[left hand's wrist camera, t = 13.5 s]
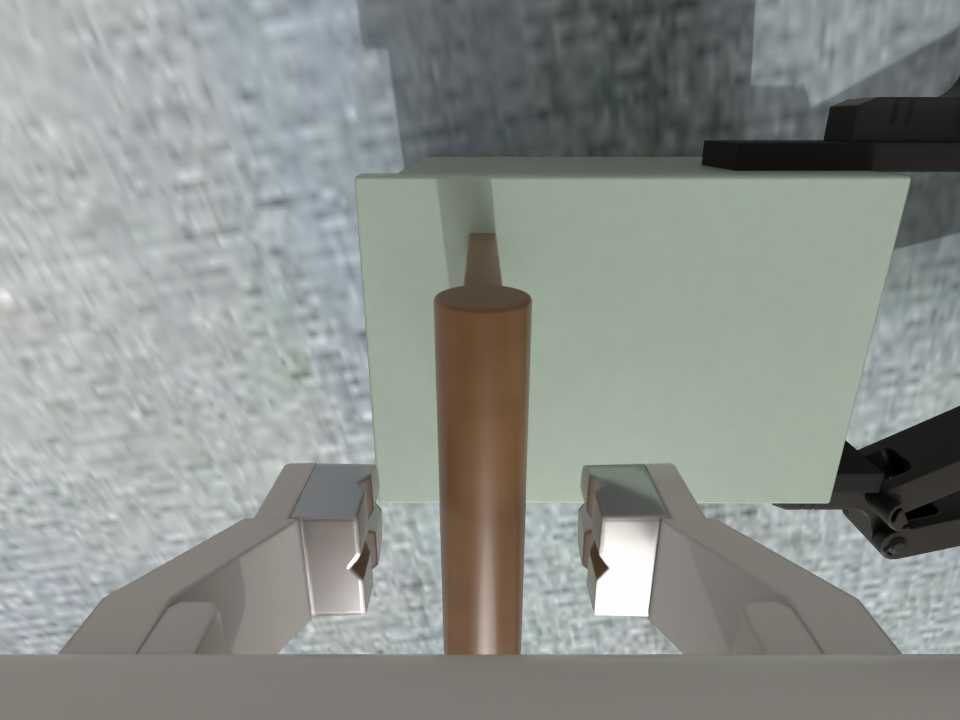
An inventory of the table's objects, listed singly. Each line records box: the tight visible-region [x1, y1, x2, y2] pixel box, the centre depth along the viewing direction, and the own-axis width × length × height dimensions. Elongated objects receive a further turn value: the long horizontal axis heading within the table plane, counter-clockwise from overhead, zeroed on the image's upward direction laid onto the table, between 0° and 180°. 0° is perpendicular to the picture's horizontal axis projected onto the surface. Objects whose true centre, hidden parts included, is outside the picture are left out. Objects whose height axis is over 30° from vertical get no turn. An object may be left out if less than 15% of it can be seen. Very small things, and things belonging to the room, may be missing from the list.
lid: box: [355, 173, 911, 654], centre depth 14 cm, size 14×10×8 cm
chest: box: [398, 156, 885, 174], centre depth 22 cm, size 13×10×9 cm
